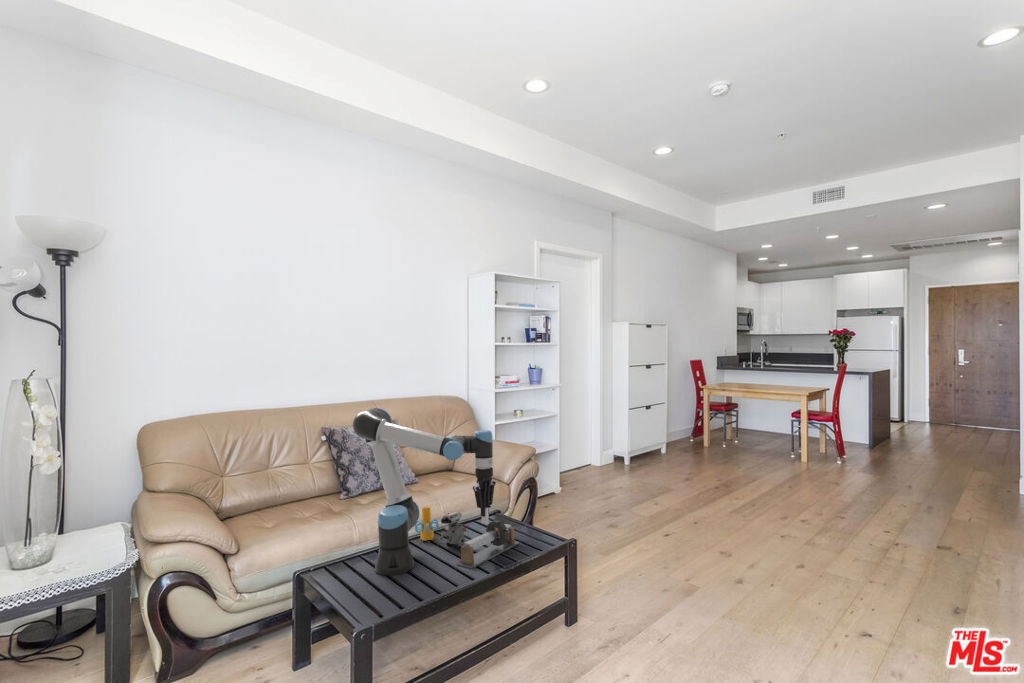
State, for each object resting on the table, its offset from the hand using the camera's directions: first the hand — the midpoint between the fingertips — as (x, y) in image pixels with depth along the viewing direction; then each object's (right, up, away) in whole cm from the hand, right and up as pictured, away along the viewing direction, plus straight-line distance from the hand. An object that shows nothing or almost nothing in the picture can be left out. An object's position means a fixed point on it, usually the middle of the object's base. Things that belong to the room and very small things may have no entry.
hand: (485, 523), depth 218 cm
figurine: (-15, -14, +10) cm, 23 cm away
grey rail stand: (+2, -13, 0) cm, 13 cm away
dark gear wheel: (+5, -11, +5) cm, 13 cm away
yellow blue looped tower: (-28, -16, +22) cm, 39 cm away
